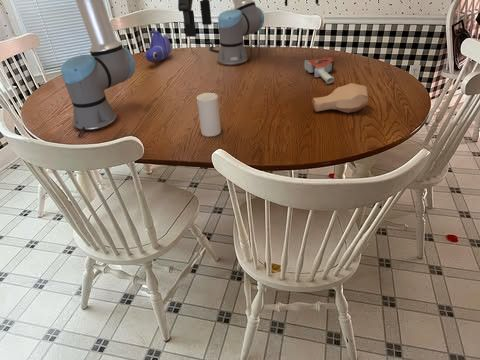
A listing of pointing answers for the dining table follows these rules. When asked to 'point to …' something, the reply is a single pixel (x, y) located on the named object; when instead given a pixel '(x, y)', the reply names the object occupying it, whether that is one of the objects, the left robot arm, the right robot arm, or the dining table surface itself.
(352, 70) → the dining table surface
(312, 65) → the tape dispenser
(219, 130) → the can
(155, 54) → the toy
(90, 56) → the left robot arm
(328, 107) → the squash
